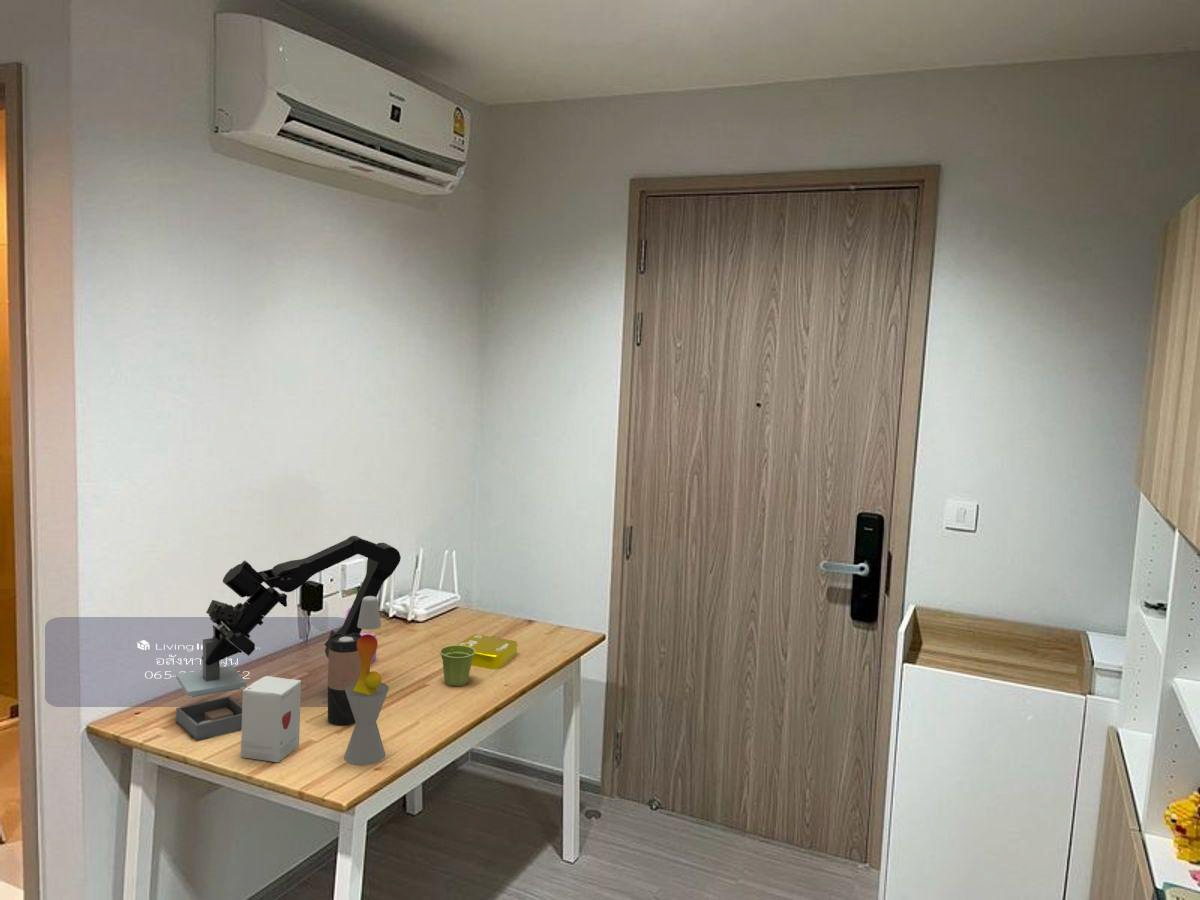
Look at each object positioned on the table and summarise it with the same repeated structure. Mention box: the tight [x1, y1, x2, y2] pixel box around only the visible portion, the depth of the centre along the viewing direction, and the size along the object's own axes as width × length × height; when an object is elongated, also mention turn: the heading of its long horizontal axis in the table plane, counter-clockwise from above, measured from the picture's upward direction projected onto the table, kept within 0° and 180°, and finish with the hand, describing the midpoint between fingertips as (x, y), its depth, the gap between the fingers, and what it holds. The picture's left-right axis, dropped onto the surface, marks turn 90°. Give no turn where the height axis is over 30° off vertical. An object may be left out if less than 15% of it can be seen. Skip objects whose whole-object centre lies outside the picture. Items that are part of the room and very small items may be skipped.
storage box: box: [175, 695, 242, 742], centre depth 203 cm, size 12×12×4 cm
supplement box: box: [240, 675, 302, 764], centre depth 191 cm, size 9×9×15 cm
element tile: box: [456, 634, 518, 670], centre depth 258 cm, size 15×15×5 cm
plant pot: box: [439, 644, 476, 687], centre depth 237 cm, size 9×9×9 cm
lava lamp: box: [343, 596, 390, 766], centre depth 191 cm, size 9×9×35 cm
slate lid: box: [175, 637, 247, 698], centre depth 206 cm, size 12×12×11 cm
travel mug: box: [327, 633, 361, 727], centre depth 209 cm, size 8×8×20 cm
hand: (204, 662), depth 205 cm, fingers closed on slate lid, 3 cm apart
